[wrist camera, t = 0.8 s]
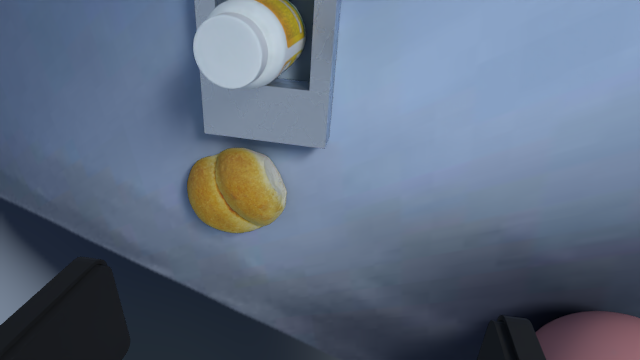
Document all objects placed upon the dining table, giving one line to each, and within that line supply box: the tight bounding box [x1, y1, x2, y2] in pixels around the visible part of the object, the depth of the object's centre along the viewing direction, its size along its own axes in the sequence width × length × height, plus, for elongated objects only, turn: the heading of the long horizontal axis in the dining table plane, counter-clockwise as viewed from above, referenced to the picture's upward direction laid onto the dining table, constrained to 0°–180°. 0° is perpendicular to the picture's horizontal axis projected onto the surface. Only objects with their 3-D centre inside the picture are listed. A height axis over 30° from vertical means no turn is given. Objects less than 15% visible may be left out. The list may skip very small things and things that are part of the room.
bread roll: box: [187, 148, 287, 233], centre depth 36 cm, size 8×9×4 cm
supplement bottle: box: [193, 0, 306, 89], centre depth 26 cm, size 5×5×10 cm
